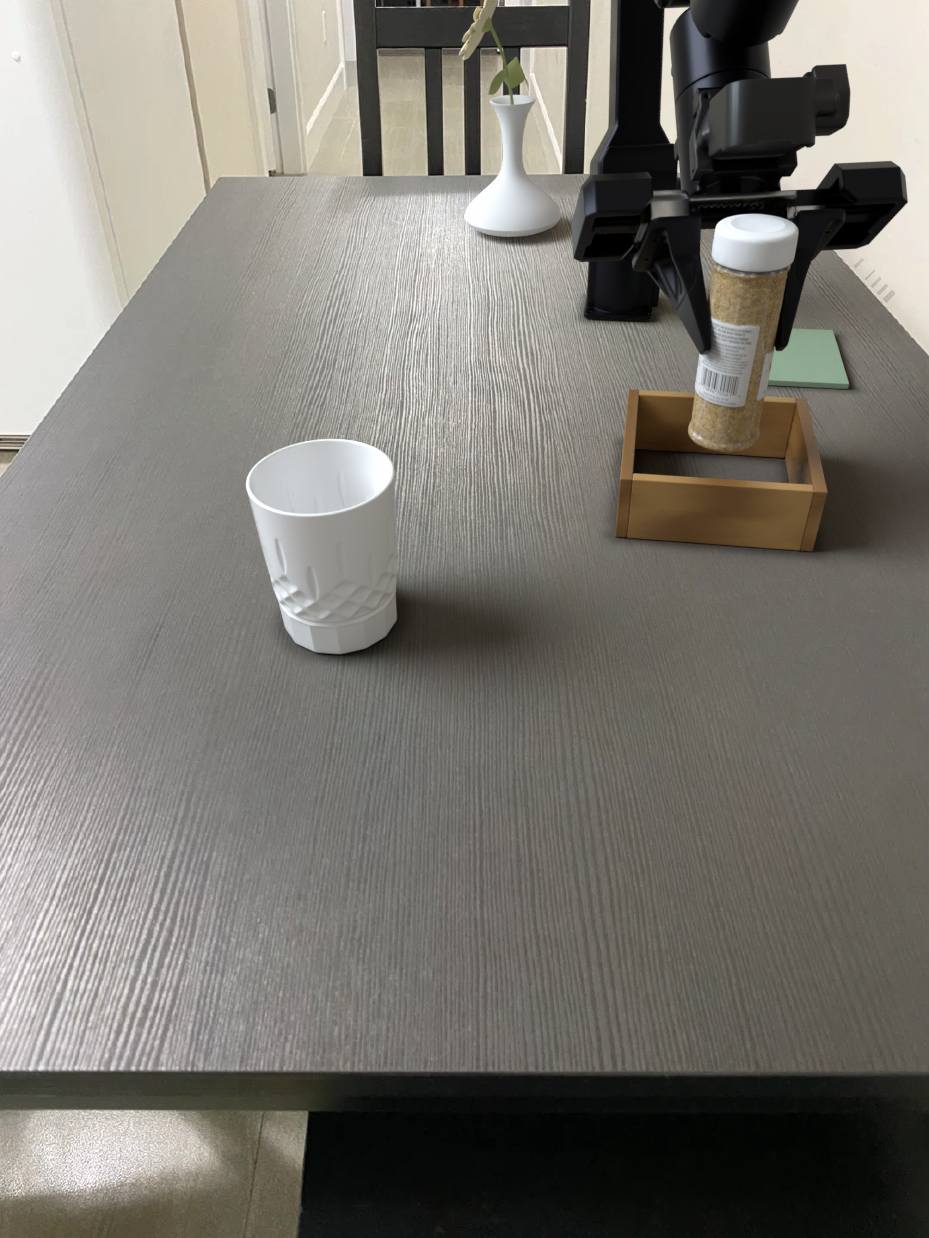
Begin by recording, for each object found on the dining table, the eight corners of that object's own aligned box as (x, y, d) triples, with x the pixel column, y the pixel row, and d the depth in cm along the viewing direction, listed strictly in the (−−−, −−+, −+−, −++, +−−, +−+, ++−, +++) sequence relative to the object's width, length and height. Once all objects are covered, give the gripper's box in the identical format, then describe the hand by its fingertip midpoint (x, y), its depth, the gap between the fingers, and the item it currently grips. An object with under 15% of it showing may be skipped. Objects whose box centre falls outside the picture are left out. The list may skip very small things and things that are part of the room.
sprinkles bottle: (772, 441, 60) (818, 225, 52) (721, 463, 58) (759, 243, 50) (721, 413, 63) (755, 205, 55) (671, 433, 61) (698, 221, 53)
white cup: (280, 583, 59) (252, 443, 53) (405, 574, 59) (392, 433, 53) (271, 667, 53) (238, 521, 47) (409, 657, 53) (396, 509, 47)
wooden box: (614, 537, 62) (619, 478, 59) (623, 443, 71) (628, 389, 69) (812, 552, 60) (828, 492, 57) (794, 453, 69) (807, 398, 67)
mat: (711, 382, 79) (712, 377, 78) (708, 330, 87) (709, 325, 87) (848, 389, 77) (849, 383, 77) (831, 335, 85) (833, 330, 85)
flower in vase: (499, 210, 117) (497, -32, 101) (578, 224, 112) (590, -29, 96) (436, 240, 109) (424, -18, 93) (518, 257, 104) (520, -13, 88)
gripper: (589, 11, 49) (610, 301, 47) (944, -5, 49) (974, 284, 48) (563, 138, 60) (579, 376, 58) (853, 124, 60) (875, 361, 59)
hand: (743, 350), depth 56 cm, fingers closed on sprinkles bottle, 4 cm apart
